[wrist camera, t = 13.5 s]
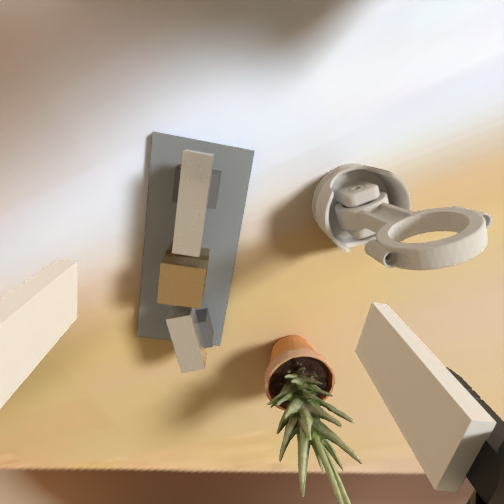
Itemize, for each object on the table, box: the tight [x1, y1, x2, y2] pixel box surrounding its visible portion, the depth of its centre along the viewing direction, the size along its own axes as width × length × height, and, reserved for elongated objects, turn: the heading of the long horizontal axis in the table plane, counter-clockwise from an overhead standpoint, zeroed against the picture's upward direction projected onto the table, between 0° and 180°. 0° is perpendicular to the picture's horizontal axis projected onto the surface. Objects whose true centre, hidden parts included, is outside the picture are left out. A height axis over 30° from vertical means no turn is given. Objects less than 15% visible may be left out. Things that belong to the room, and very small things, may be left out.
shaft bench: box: [137, 132, 254, 348], centre depth 41 cm, size 28×12×4 cm, turn 170°
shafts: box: [166, 149, 214, 373], centre depth 38 cm, size 27×6×3 cm, turn 170°
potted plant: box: [264, 335, 362, 504], centre depth 38 cm, size 10×10×25 cm
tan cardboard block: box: [157, 243, 210, 308], centre depth 40 cm, size 5×5×7 cm
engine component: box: [312, 164, 492, 270], centre depth 33 cm, size 11×20×10 cm
